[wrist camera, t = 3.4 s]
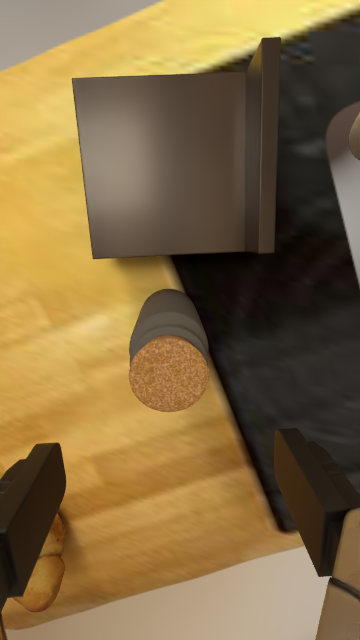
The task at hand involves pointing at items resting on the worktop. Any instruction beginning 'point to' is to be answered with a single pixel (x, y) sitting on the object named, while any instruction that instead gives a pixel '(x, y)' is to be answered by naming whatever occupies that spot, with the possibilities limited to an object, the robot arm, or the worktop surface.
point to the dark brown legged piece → (181, 160)
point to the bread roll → (46, 571)
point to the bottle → (168, 353)
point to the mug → (355, 138)
